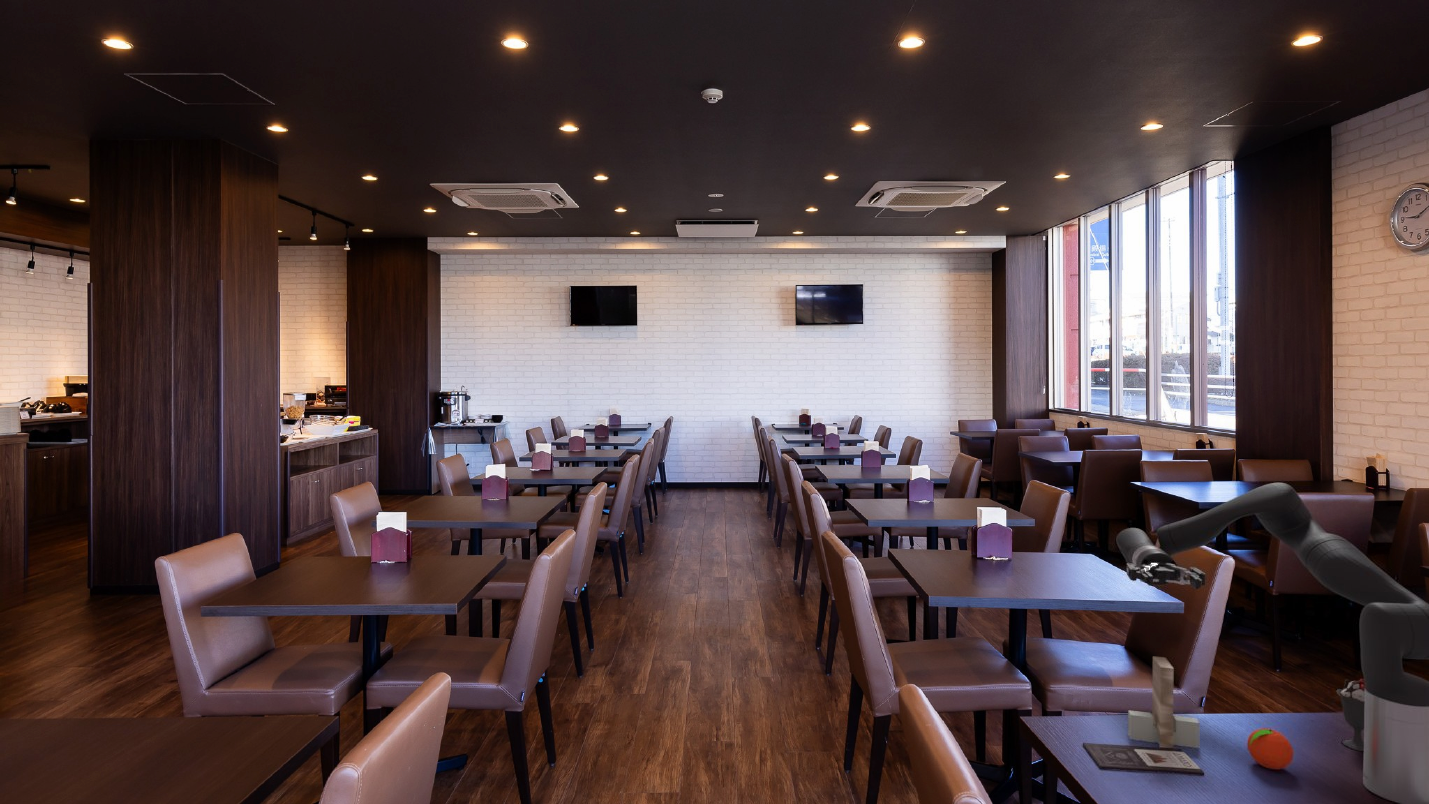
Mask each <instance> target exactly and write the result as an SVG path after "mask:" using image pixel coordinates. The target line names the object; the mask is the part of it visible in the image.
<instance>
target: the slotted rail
mask: <svg viewBox="0 0 1429 804" xmlns="http://www.w3.org/2000/svg"><path fill="white" fill-rule="evenodd" d="M1127 713H1128V714H1127V716H1128V717H1127V718H1128V719H1127V724H1128V725H1127V731H1128V732H1127V735H1128V734H1129V735H1128V737H1129V736H1130V737H1129V739H1130V738H1131V739H1130V740H1132V739H1138V740H1137V741H1140V740H1142V742H1147V743H1155V742H1158V743H1157V744H1159V732H1158V730H1157V729H1156V727H1155V726H1154V725H1153V716H1152V712H1148V711H1147V712H1145V711H1136V710H1128V711H1127ZM1173 737H1174V746H1181V747H1188V748H1189V747H1190V748H1195V749H1200V722H1199V720H1198V719H1197V718H1196V717H1189V716H1188V717H1187V716H1180V715H1173Z"/></svg>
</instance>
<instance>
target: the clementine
mask: <svg viewBox="0 0 1429 804" xmlns="http://www.w3.org/2000/svg"><path fill="white" fill-rule="evenodd" d="M1246 746H1247V751H1248V752H1249V754H1250V757H1252V759H1253V760H1254V761H1255V762H1256V763H1258V764H1259V765H1260V766H1262V767H1265V768H1267V769H1270V770H1281V769H1286V767H1288V766H1289V765H1290V764H1291V763H1292V761H1293V758H1294V749H1293V747H1292V744H1291V742H1290V741H1289V740H1288V739H1287V737H1286V736H1285V735H1283V734H1282V733H1280V732H1279V731H1277V730H1275V729H1271V728H1264V727H1263V728H1259V729H1255V730H1254V731H1252V732H1251V733H1250V734H1249V735H1248V737H1247V741H1246Z"/></svg>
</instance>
